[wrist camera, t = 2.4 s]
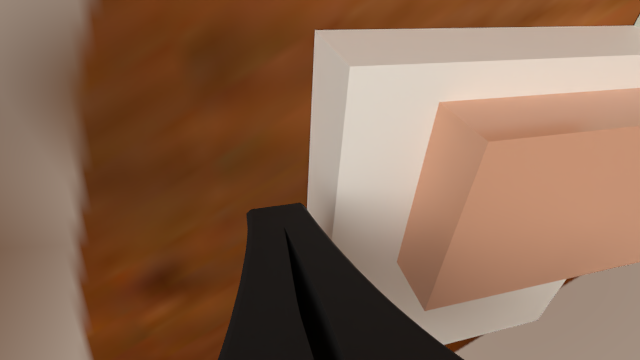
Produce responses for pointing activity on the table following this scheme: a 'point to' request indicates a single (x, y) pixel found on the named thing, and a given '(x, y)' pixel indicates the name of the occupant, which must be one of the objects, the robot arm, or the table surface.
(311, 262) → the robot arm
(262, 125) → the table surface
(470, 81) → the white flat block
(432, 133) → the tile
